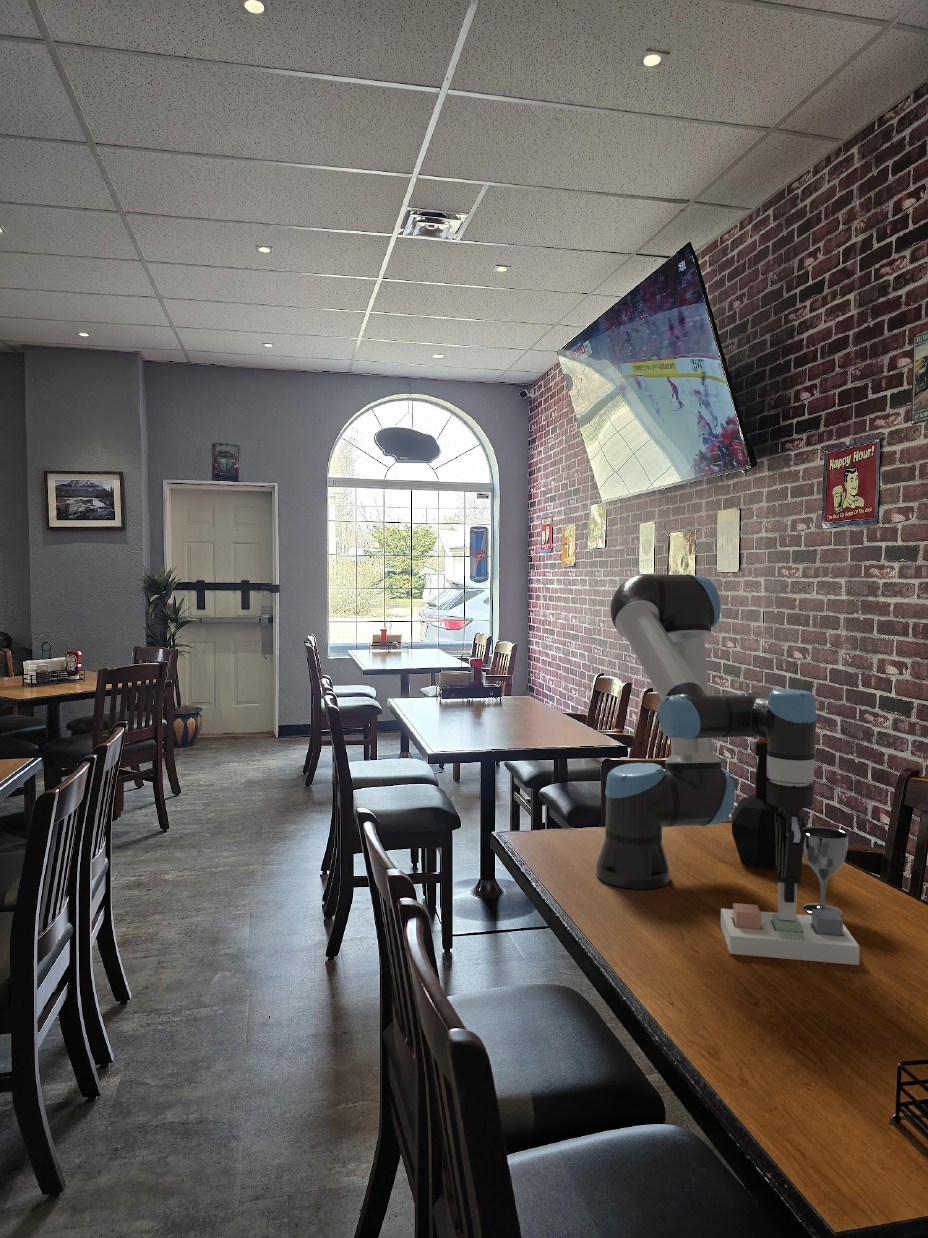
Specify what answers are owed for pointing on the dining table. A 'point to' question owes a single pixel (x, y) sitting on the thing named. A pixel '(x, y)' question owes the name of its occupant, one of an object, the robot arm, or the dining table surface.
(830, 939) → the button board
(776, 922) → the sage button
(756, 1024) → the dining table surface
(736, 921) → the salmon pink button
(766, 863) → the bottle
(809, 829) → the silver goblet
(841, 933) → the slate grey button
